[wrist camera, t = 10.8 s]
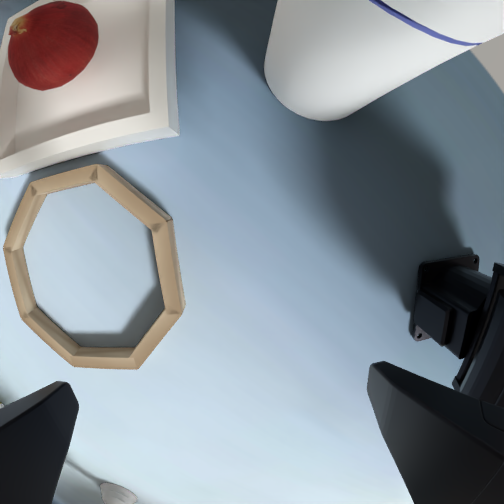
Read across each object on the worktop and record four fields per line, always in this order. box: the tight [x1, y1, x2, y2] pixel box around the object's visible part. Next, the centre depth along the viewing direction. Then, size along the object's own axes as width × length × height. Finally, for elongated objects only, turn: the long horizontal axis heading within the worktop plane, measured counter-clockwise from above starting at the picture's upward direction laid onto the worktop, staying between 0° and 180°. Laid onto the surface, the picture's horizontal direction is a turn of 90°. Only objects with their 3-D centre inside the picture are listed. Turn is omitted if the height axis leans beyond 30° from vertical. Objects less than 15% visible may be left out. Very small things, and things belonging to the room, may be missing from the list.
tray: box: [0, 0, 180, 178], centre depth 14 cm, size 14×14×3 cm
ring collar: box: [3, 164, 186, 369], centre depth 18 cm, size 14×14×2 cm
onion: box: [8, 1, 99, 91], centre depth 11 cm, size 6×6×8 cm
